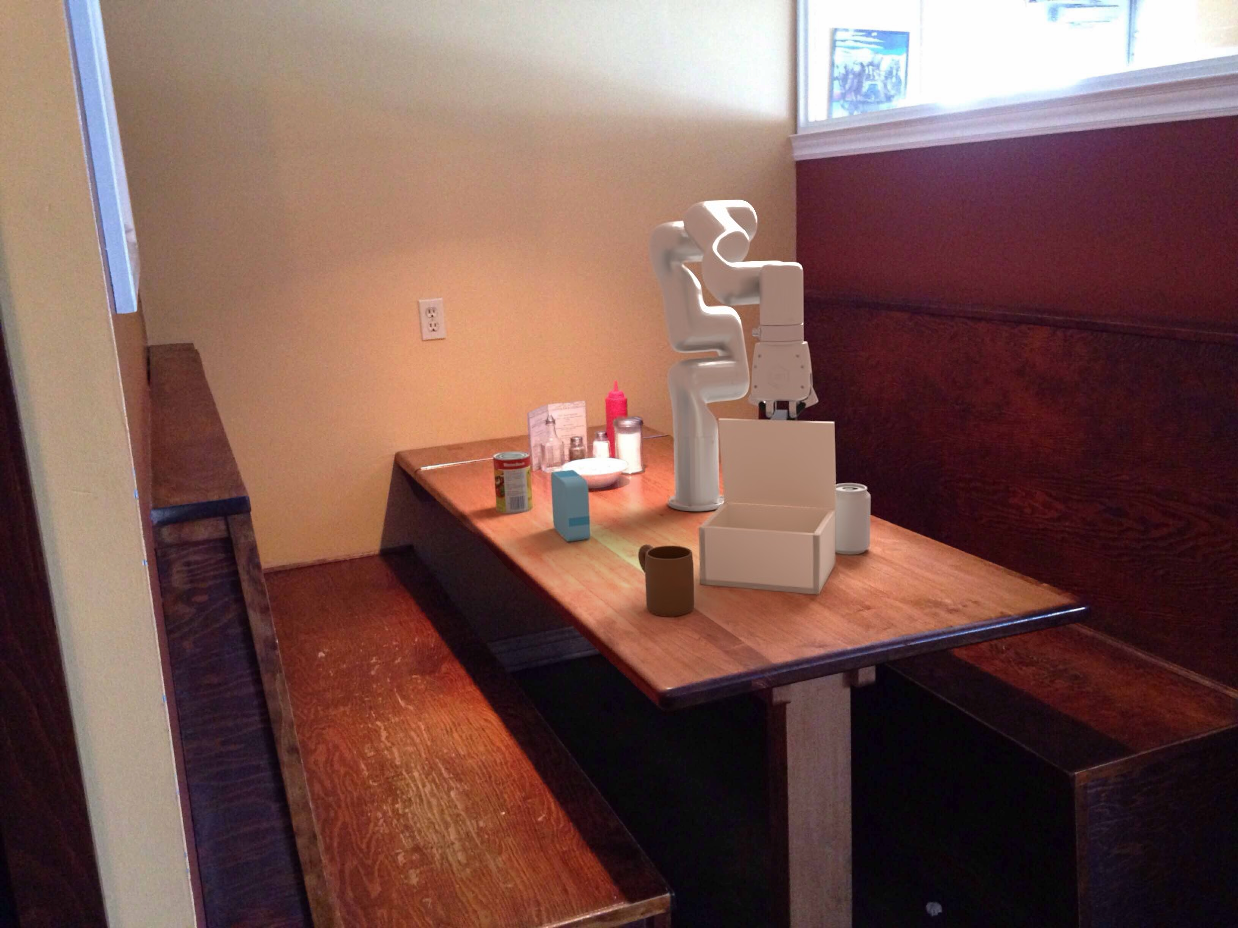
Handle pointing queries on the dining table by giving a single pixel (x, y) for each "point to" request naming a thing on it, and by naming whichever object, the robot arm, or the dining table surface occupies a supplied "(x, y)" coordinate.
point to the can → (852, 518)
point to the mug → (668, 579)
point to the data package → (570, 505)
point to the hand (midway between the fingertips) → (783, 437)
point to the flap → (778, 462)
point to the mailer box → (768, 547)
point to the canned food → (513, 482)
